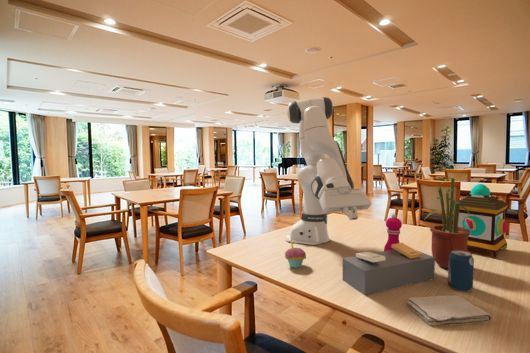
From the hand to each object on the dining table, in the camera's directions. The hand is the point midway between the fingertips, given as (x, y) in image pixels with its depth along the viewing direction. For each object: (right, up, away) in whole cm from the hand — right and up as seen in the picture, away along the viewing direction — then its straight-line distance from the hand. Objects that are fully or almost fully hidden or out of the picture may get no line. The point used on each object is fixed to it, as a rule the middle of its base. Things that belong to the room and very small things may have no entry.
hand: (354, 218), depth 107 cm
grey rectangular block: (+11, -21, -3) cm, 24 cm away
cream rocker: (+3, -12, -6) cm, 14 cm away
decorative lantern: (+64, -18, +26) cm, 71 cm away
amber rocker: (+18, -11, -1) cm, 22 cm away
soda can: (+32, -22, -10) cm, 40 cm away
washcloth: (+19, -24, -24) cm, 39 cm away
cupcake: (-20, -21, +12) cm, 31 cm away
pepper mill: (+20, -20, +14) cm, 31 cm away
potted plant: (+39, -20, +10) cm, 45 cm away
